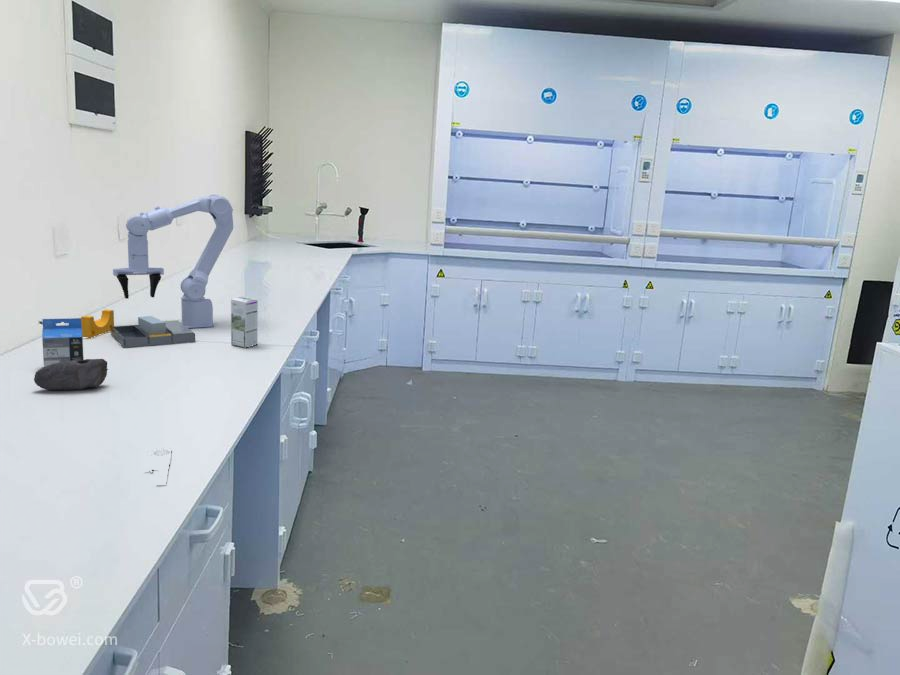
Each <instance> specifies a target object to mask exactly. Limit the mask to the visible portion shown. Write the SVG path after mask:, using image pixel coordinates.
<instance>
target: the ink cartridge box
mask: <svg viewBox="0 0 900 675" xmlns="http://www.w3.org/2000/svg"><path fill="white" fill-rule="evenodd" d="M61 323H64V324H65V325H57V324H61ZM67 324H68V325H67ZM41 332H42V335H41V336H42V338H41V339H42V340H41V341H42V356H43V357H42V358H43V367H45V366H48V365H51V364H55V363H60V362H65V361H72V360H85V359H84V342H83V341H84V338H83V335H82V324H81V317H77V318H70V317H69V318H42V331H41Z"/></svg>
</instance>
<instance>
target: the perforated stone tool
mask: <svg viewBox="0 0 900 675" xmlns="http://www.w3.org/2000/svg"><path fill="white" fill-rule="evenodd" d="M108 370H109V369H108V361H107V360H106V359H104V358H86V359H84V360H72V361H65V362H60V363H55V364H51V365H48V366H45V367H44V366H43V367H42V368H40V369H38V370H37V371H36V372H35V373H34V377H33V381H34V383H35V384H36V386H38V387H39V388H41V389H43V390H50V391H58V390H62V391H79V390H84V389H86V388H87V389H88V388H91V389H95V388H98V387H99V386H100V385H102V384H103V383H104V381H105V380H106V378H107V376H108V375H107V374H108Z"/></svg>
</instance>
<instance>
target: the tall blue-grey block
mask: <svg viewBox="0 0 900 675" xmlns="http://www.w3.org/2000/svg"><path fill="white" fill-rule="evenodd" d="M137 318H138V319H137V325H138V328H140V329H141V330H142V331H143V332H144V333H145V334H146V335H148V336H149V335H157V334H166V322H164V321H165V320H164V321H163V320H161V319H158V318H157V317H154V316H153V315H147V316H138V317H137Z"/></svg>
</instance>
